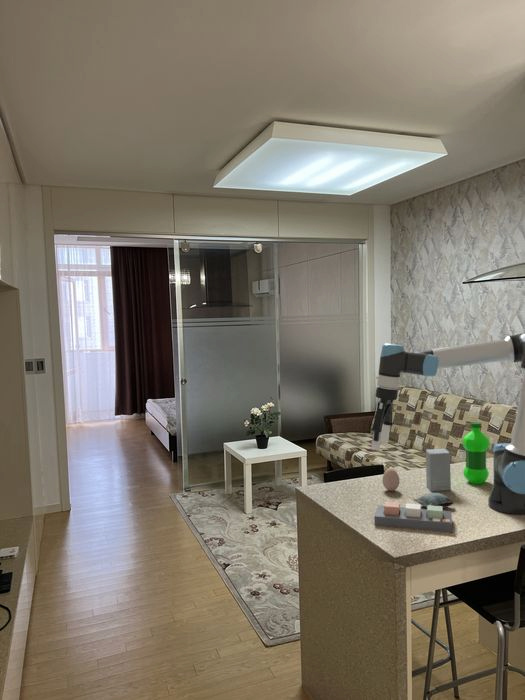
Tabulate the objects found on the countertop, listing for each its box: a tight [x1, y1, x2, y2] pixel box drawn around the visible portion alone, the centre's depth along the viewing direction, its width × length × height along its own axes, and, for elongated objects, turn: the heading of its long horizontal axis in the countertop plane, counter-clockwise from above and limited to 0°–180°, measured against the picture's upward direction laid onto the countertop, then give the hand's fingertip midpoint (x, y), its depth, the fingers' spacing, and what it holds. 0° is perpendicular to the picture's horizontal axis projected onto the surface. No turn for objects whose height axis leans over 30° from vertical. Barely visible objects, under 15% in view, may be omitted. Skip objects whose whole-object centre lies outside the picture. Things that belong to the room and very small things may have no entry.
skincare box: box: [425, 448, 452, 492], centre depth 213 cm, size 8×7×16 cm
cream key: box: [405, 502, 422, 517], centre depth 179 cm, size 5×5×4 cm
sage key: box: [426, 505, 444, 519], centre depth 177 cm, size 5×5×4 cm
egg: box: [381, 467, 400, 492], centre depth 212 cm, size 7×7×9 cm
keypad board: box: [373, 504, 453, 533], centre depth 179 cm, size 25×11×3 cm, turn 72°
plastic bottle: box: [462, 421, 490, 485], centre depth 220 cm, size 10×10×25 cm
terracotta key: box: [383, 501, 401, 515], centre depth 181 cm, size 5×5×4 cm
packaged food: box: [412, 492, 454, 509], centre depth 193 cm, size 9×12×5 cm
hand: (379, 446), depth 189 cm, fingers open, 13 cm apart
